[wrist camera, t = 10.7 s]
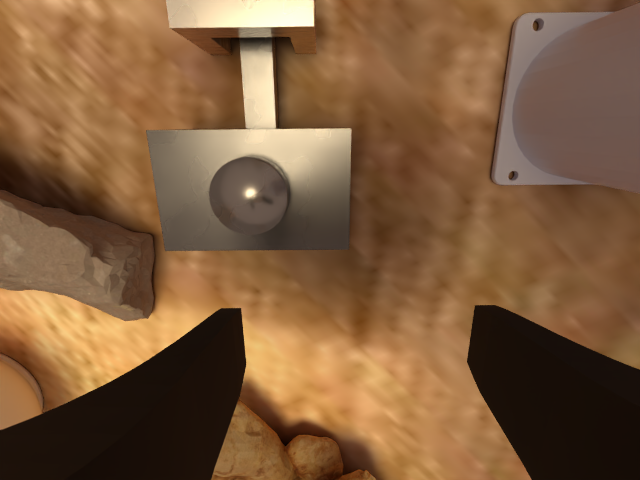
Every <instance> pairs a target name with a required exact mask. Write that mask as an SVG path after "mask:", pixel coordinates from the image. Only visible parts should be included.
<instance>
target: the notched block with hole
mask: <svg viewBox="0 0 640 480" xmlns="http://www.w3.org/2000/svg"><path fill="white" fill-rule="evenodd" d="M166 4H167V11H168V19H169V27H170V29H172V30H174V31H175V32H177V33H178V34H180V35H181V36H183V37H184V38H186V39H187V40H189V41H191V42H192V43H194V44H195V45H197V46H198V47H200V48H201V49H203V50H204V51H206V52H208V53H209V54H211V55H232V54H231V42H230V38H232V37H290V39H291V42H292V44H293V47H294V50H295V53H296V54H316V5H315V0H166Z"/></svg>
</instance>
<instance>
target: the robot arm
mask: <svg viewBox="0 0 640 480" xmlns="http://www.w3.org/2000/svg"><path fill="white" fill-rule="evenodd" d="M534 21H537V22H538V23H539V28H538V30H537V31H535V30H534V29H533V26H532V25H533V22H534ZM511 171H514V177H513V178H512V179H509V178H508V175H509V173H510V172H511ZM491 177H492V180H493V182H494V183H496V184H499V185H573V184H597V185H602V186H607V187H611V188H616V189H621V190H626V191H630V192H635V193H640V2H639V3H637V4H634V5H632V6H629V7H627V8H624V9H621V10H619V11H616V12H553V13H526V14H523V15H521V16H520V17H518V18H517V19H516V21H515V22H514V25H513V29H512V36H511V43H510V50H509V57H508V64H507V71H506V77H505V84H504V91H503V98H502V105H501V112H500V119H499V126H498V133H497V140H496V147H495V154H494V161H493V167H492V174H491ZM467 363H468V365H469V368H470V370H471V373H472V375H473V378H474V380H475V382H476V384H477V387H478V389H479V391H480V393H481V395H482V396H483V398H484V400H485V402H486V403H487V405H488V407H489V408H490V410H491V412H492V413H493V415H494V417H495V418H496V420H497V422H498V423H499V425H500V427H501V428H502V430H503V432H504V433H505V435H506V437H507V438H508V440H509V442H510V443H511V445H512V447H513V448H514V450H515V451H516V453H517V455H518V456H519V458H520V460H521V461H522V463H523V465H524V467H525V468H526V470H527V472H528V474H529V476H530V477H531V479H532V480H640V370H639V369H636V368H634V367H631V366H629V365H626V364H624V363H621V362H619V361H616V360H614V359H611V358H609V357H607V356H604V355H602V354H600V353H598V352H595V351H593V350H591V349H589V348H586V347H584V346H582V345H580V344H577V343H575V342H573V341H571V340H569V339H567V338H565V337H563V336H560V335H558V334H556V333H554V332H552V331H550V330H548V329H546V328H544V327H542V326H540V325H538V324H536V323H534V322H532V321H530V320H528V319H526V318H524V317H522V316H519V315H517V314H515V313H513V312H511V311H509V310H506V309H504V308H501V307H499V306H496V305H475V309H474V316H473V323H472V330H471V337H470V344H469V351H468V359H467ZM245 368H246V357H245V346H244V335H243V325H242V314H241V308H221V309H220V310H218V311H216V312H215V313H214V314H212V315H211V316H209V317H208V318H207V319H205V320H204V321H203V322H201V323H200V324H199V325H197V326H196V327H195V328H193V329H192V330H191V331H189V332H188V333H187V334H185V335H184V336H183V337H181V338H180V339H179V340H177V341H176V342H174V343H173V344H171V345H170V346H168V347H167V348H165V349H164V350H162V351H161V352H159V353H158V354H156V355H155V356H153V357H152V358H150V359H149V360H147V361H146V362H144V363H142V364H141V365H139V366H137V367H136V368H134V369H132V370H131V371H129V372H127V373H125V374H124V375H122V376H120V377H118V378H116V379H115V380H113V381H111V382H109V383H107V384H105V385H103V386H101V387H99V388H97V389H95V390H93V391H91V392H89V393H87V394H84V395H82V396H80V397H78V398H76V399H74V400H72V401H70V402H68V403H66V404H64V405H61V406H59V407H57V408H54V409H52V410H50V411H47V412H45V413H43V414H40V415H38V416H35V417H33V418H30V419H28V420H25V421H23V422H20V423H18V424H15V425H13V426H10V427H7V428H5V429H2V430H0V480H211V479H212V475H213V472H214V469H215V466H216V463H217V460H218V457H219V454H220V451H221V448H222V446H223V443H224V440H225V437H226V434H227V431H228V428H229V425H230V423H231V420H232V417H233V414H234V411H235V408H236V405H237V402H238V399H239V396H240V392H241V388H242V383H243V378H244V373H245Z"/></svg>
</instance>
